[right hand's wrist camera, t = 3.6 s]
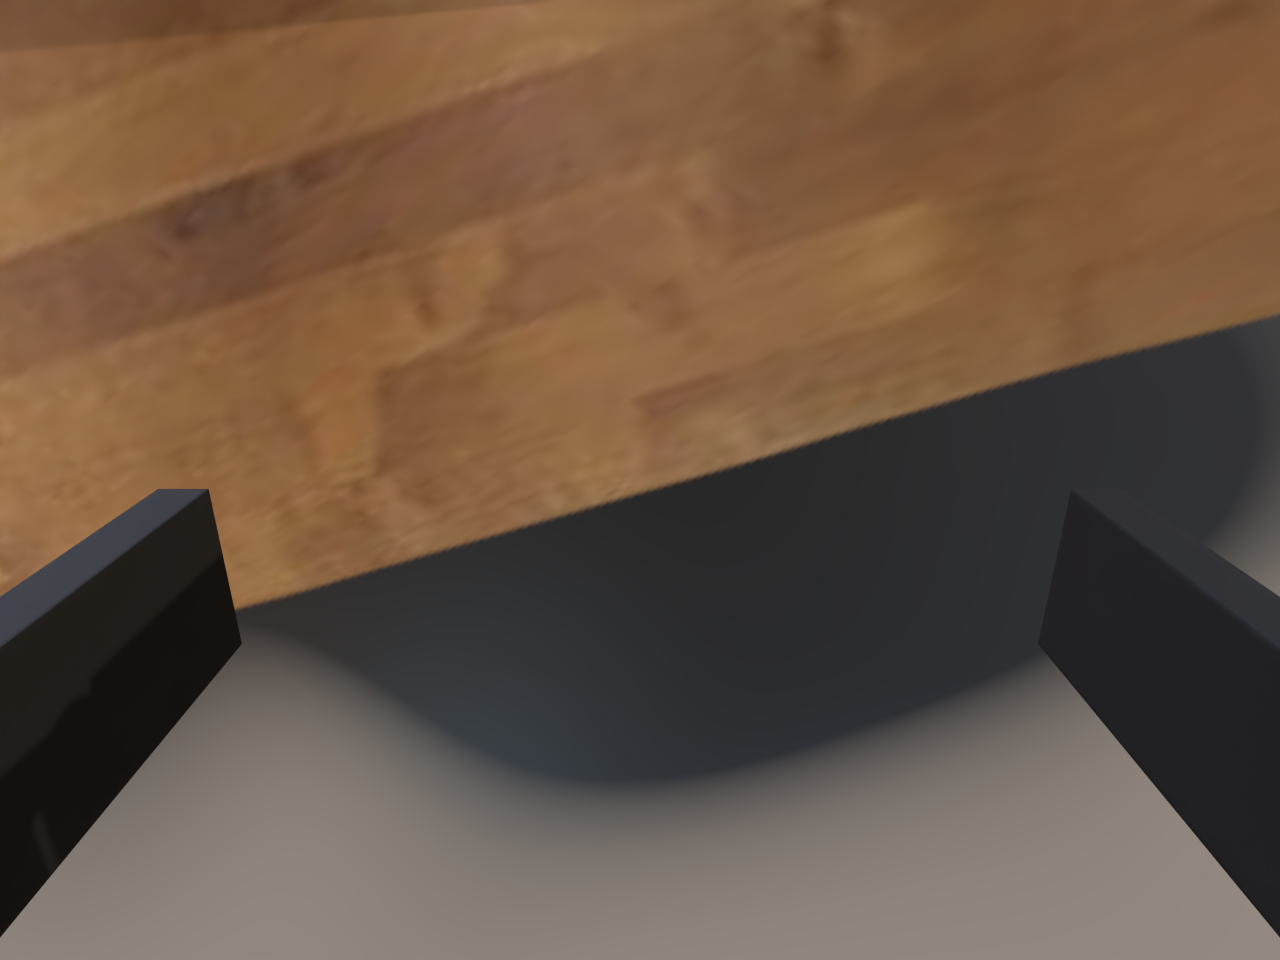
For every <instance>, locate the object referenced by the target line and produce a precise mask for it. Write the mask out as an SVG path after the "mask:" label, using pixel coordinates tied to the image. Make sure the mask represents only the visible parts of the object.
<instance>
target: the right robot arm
mask: <svg viewBox="0 0 1280 960" xmlns="http://www.w3.org/2000/svg"><path fill="white" fill-rule="evenodd" d="M241 644H242V643H241V638H240V633H239V629H238V624H237V619H236V615H235V610H234V605H233V601H232V596H231V591H230V587H229V582H228V578H227V573H226V568H225V564H224V559H223V554H222V550H221V545H220V540H219V536H218V531H217V526H216V522H215V517H214V513H213V508H212V503H211V499H210V494H209V489H158V490H156V491H155V492H153V493H152V494H150V495H149V496H147V497H146V498H144V499H143V500H141V501H140V502H139V503H137V504H136V505H134V506H133V507H131V508H130V509H128V510H127V511H125V512H124V513H122V514H121V515H119V516H118V517H117V518H115V519H114V520H112V521H111V522H109V523H108V524H106V525H105V526H103V527H102V528H100V529H99V530H97V531H96V532H95V533H93V534H92V535H90V536H89V537H87V538H86V539H84V540H83V541H81V542H80V543H78V544H77V545H76V546H74V547H73V548H71V549H70V550H68V551H67V552H65V553H64V554H62V555H61V556H59V557H58V558H56V559H55V560H54V561H52V562H51V563H49V564H48V565H46V566H45V567H43V568H42V569H40V570H39V571H37V572H36V573H34V574H33V575H32V576H30V577H29V578H27V579H26V580H24V581H23V582H21V583H20V584H18V585H17V586H15V587H14V588H13V589H11V590H10V591H8V592H7V593H5V594H4V595H2V596H1V597H0V937H1V936H2V934H3V933H4V932H5V931H6V929H7V928H8V927H9V926H10V925H11V923H12V922H13V921H14V920H15V919H16V917H17V916H18V915H19V914H20V912H21V911H22V910H23V909H24V908H25V906H26V905H27V904H28V903H29V902H30V900H31V899H32V898H33V897H34V896H35V894H36V893H37V892H38V891H39V889H40V888H41V887H42V886H43V885H44V883H45V882H46V881H47V880H48V879H49V877H50V876H51V875H52V874H53V872H54V871H55V870H56V869H57V868H58V866H59V865H60V864H61V863H62V862H63V860H64V859H65V858H66V857H67V855H68V854H69V853H70V852H71V851H72V849H73V848H74V847H75V846H76V845H77V843H78V842H79V841H80V840H81V838H82V837H83V836H84V835H85V834H86V832H87V831H88V830H89V829H90V828H91V826H92V825H93V824H94V823H95V821H96V820H97V819H98V818H99V817H100V815H101V814H102V813H103V812H104V810H105V809H106V808H107V807H108V806H109V804H110V803H111V802H112V801H113V800H114V798H115V797H116V796H117V795H118V794H119V792H120V791H121V790H122V789H123V787H124V786H125V785H126V784H127V783H128V781H129V780H130V779H131V778H132V777H133V775H134V774H135V773H136V772H137V770H138V769H139V768H140V767H141V766H142V764H143V763H144V762H145V761H146V760H147V758H148V757H149V756H150V755H151V753H152V752H153V751H154V750H155V749H156V747H157V746H158V745H159V744H160V743H161V741H162V740H163V739H164V738H165V736H166V735H167V734H168V733H169V732H170V730H171V729H172V728H173V727H174V726H175V724H176V723H177V722H178V721H179V719H180V718H181V717H182V716H183V715H184V713H185V712H186V711H187V710H188V709H189V707H190V706H191V705H192V704H193V702H194V701H195V700H196V699H197V698H198V696H199V695H200V694H201V693H202V692H203V690H204V689H205V688H206V687H207V685H208V684H209V683H210V682H211V681H212V679H213V678H214V677H215V676H216V675H217V673H218V672H219V671H220V670H221V668H222V667H223V666H224V665H225V664H226V662H227V661H228V660H229V659H230V658H231V656H232V655H233V654H234V653H235V651H236V650H237V649H238V648H239V647H240V645H241ZM1038 644H1039V645H1040V647H1041V648H1042V649H1043V650H1044V651H1045V653H1046V654H1047V655H1048V656H1049V658H1050V659H1051V660H1052V661H1053V662H1054V664H1055V665H1056V666H1057V667H1058V668H1059V670H1060V671H1061V672H1062V673H1063V675H1064V676H1065V677H1066V678H1067V679H1068V681H1069V682H1070V683H1071V684H1072V685H1073V687H1074V688H1075V689H1076V690H1077V691H1078V693H1079V694H1080V695H1081V696H1082V698H1083V699H1084V700H1085V701H1086V702H1087V704H1088V705H1089V706H1090V707H1091V709H1092V710H1093V711H1094V712H1095V713H1096V715H1097V716H1098V717H1099V718H1100V719H1101V721H1102V722H1103V723H1104V724H1105V726H1106V727H1107V728H1108V729H1109V730H1110V732H1111V733H1112V734H1113V735H1114V736H1115V738H1116V739H1117V740H1118V741H1119V743H1120V744H1121V745H1122V746H1123V747H1124V749H1125V750H1126V751H1127V752H1128V753H1129V755H1130V756H1131V757H1132V758H1133V760H1134V761H1135V762H1136V763H1137V764H1138V766H1139V767H1140V768H1141V769H1142V770H1143V772H1144V773H1145V774H1146V775H1147V776H1148V778H1149V779H1150V780H1151V781H1152V783H1153V784H1154V785H1155V786H1156V787H1157V789H1158V790H1159V791H1160V792H1161V794H1162V795H1163V796H1164V797H1165V798H1166V800H1167V801H1168V802H1169V803H1170V804H1171V806H1172V807H1173V808H1174V809H1175V811H1176V812H1177V813H1178V814H1179V815H1180V817H1181V818H1182V819H1183V820H1184V821H1185V823H1186V824H1187V825H1188V826H1189V828H1190V829H1191V830H1192V831H1193V832H1194V834H1195V835H1196V836H1197V837H1198V838H1199V840H1200V841H1201V842H1202V843H1203V845H1204V846H1205V847H1206V848H1207V849H1208V851H1209V852H1210V853H1211V854H1212V855H1213V857H1214V858H1215V859H1216V860H1217V862H1218V863H1219V864H1220V865H1221V866H1222V868H1223V869H1224V870H1225V871H1226V872H1227V874H1228V875H1229V876H1230V877H1231V878H1232V880H1233V881H1234V882H1235V883H1236V885H1237V886H1238V887H1239V888H1240V889H1241V891H1242V892H1243V893H1244V894H1245V896H1246V897H1247V898H1248V899H1249V900H1250V902H1251V903H1252V904H1253V905H1254V907H1255V908H1256V909H1257V910H1258V911H1259V913H1260V914H1261V915H1262V916H1263V917H1264V919H1265V920H1266V921H1267V922H1268V924H1269V925H1270V926H1271V927H1272V928H1273V930H1274V931H1275V932H1276V933H1277V934H1278V936H1279V937H1280V597H1279V596H1278V595H1276V594H1275V593H1273V592H1272V591H1270V590H1269V589H1267V588H1266V587H1265V586H1263V585H1262V584H1260V583H1259V582H1257V581H1256V580H1254V579H1253V578H1251V577H1250V576H1248V575H1247V574H1245V573H1244V572H1243V571H1241V570H1240V569H1238V568H1237V567H1235V566H1234V565H1232V564H1231V563H1229V562H1228V561H1226V560H1225V559H1224V558H1222V557H1221V556H1219V555H1218V554H1216V553H1215V552H1213V551H1212V550H1210V549H1209V548H1207V547H1206V546H1204V545H1203V544H1202V543H1200V542H1199V541H1197V540H1196V539H1194V538H1193V537H1191V536H1190V535H1188V534H1187V533H1185V532H1184V531H1183V530H1181V529H1180V528H1178V527H1177V526H1175V525H1174V524H1172V523H1171V522H1169V521H1168V520H1166V519H1165V518H1163V517H1162V516H1161V515H1159V514H1158V513H1156V512H1155V511H1153V510H1152V509H1150V508H1149V507H1147V506H1146V505H1144V504H1143V503H1141V502H1140V501H1139V500H1137V499H1136V498H1134V497H1133V496H1131V495H1130V494H1128V493H1127V492H1125V491H1124V490H1122V489H1072V490H1071V494H1070V499H1069V503H1068V508H1067V513H1066V517H1065V522H1064V526H1063V531H1062V536H1061V540H1060V545H1059V550H1058V554H1057V559H1056V564H1055V568H1054V573H1053V578H1052V582H1051V587H1050V591H1049V596H1048V601H1047V605H1046V610H1045V615H1044V619H1043V624H1042V629H1041V633H1040V638H1039V643H1038Z"/></svg>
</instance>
